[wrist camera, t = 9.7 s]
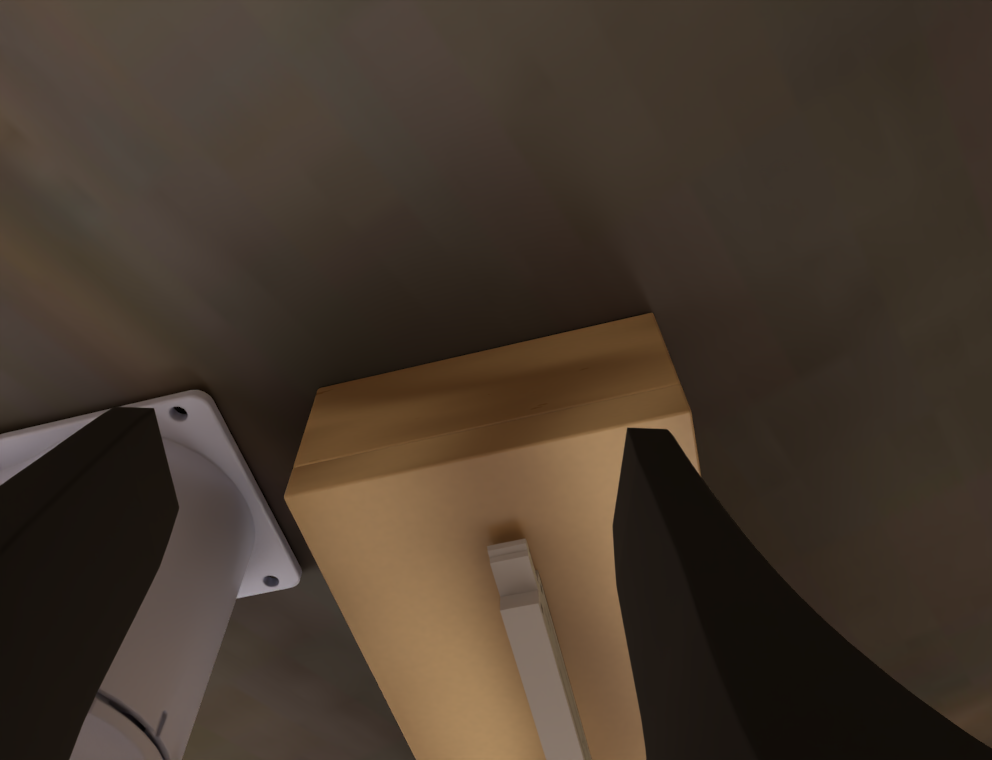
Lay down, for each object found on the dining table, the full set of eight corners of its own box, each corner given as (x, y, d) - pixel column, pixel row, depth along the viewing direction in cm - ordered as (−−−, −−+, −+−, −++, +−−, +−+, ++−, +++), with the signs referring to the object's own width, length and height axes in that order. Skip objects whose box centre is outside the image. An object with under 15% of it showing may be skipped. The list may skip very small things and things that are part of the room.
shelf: (520, 851, 38) (525, 976, 33) (317, 387, 24) (282, 497, 20) (739, 818, 36) (773, 943, 32) (652, 311, 23) (691, 410, 19)
